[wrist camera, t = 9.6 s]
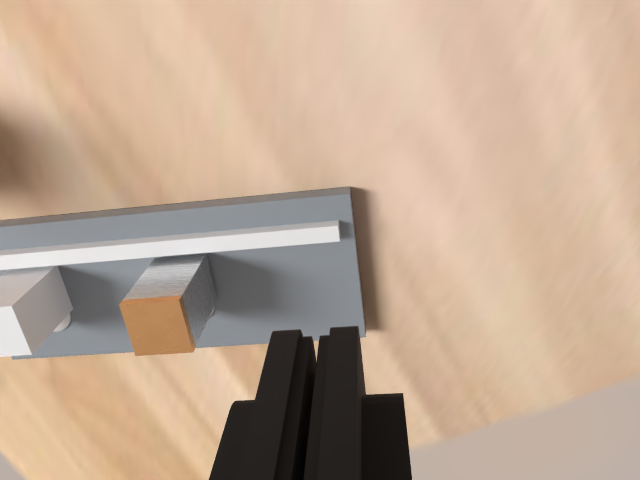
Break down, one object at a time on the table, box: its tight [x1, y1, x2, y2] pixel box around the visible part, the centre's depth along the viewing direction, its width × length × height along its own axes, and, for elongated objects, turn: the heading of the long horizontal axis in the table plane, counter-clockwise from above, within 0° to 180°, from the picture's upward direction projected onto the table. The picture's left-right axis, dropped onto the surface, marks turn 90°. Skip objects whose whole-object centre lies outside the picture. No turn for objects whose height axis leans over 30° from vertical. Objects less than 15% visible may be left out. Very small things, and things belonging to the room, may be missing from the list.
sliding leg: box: [119, 254, 217, 356], centre depth 38 cm, size 5×4×7 cm
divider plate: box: [0, 187, 366, 360], centre depth 40 cm, size 12×30×8 cm, turn 97°
